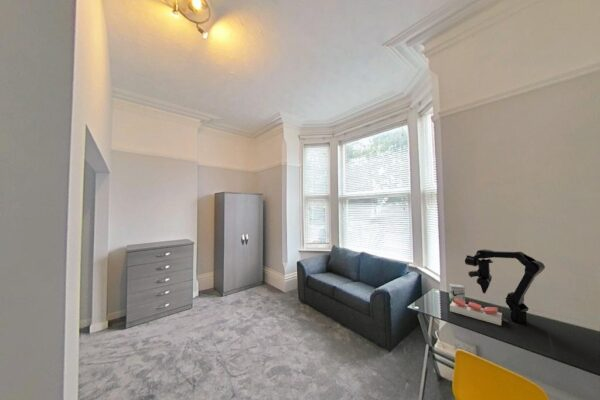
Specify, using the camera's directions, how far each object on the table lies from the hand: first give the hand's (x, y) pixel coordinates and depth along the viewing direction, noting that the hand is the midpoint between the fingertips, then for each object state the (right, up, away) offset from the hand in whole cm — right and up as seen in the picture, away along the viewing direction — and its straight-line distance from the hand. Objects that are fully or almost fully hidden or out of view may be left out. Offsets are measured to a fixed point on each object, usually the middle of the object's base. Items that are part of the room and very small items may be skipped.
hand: (484, 291), depth 145 cm
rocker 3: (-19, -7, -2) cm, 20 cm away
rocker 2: (-13, -6, -8) cm, 17 cm away
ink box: (-10, -13, +12) cm, 20 cm away
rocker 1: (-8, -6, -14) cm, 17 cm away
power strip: (-12, -12, -9) cm, 19 cm away
